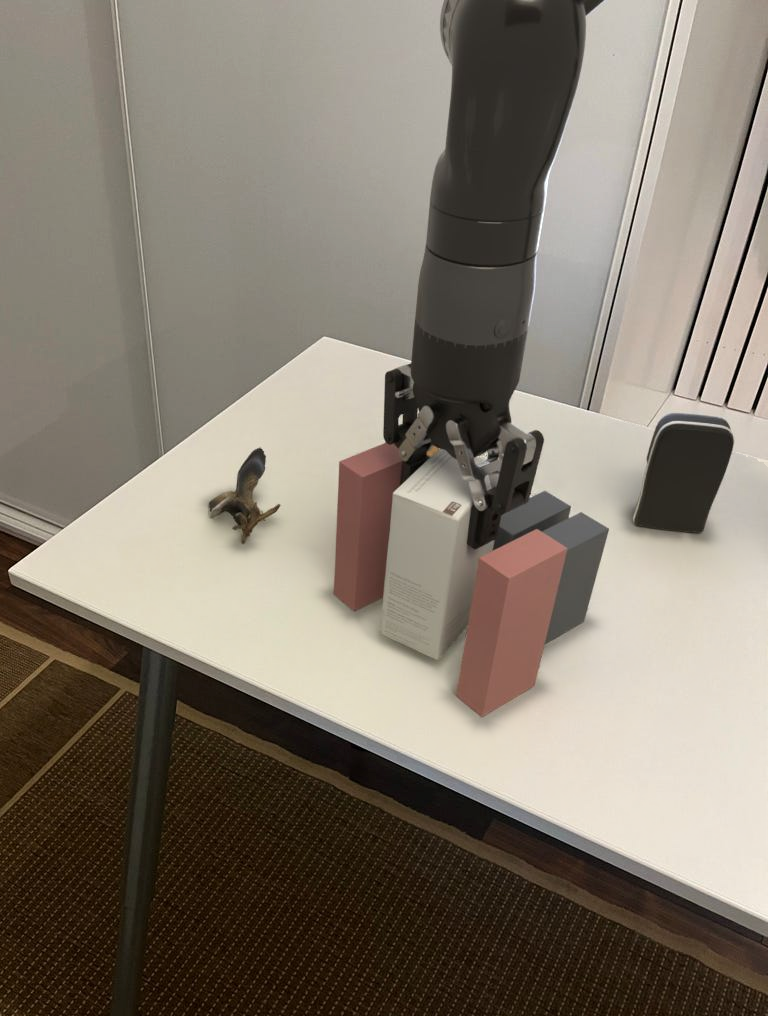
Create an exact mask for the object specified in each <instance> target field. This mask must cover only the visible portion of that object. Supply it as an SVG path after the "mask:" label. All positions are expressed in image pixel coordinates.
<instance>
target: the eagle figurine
mask: <svg viewBox="0 0 768 1016" xmlns="http://www.w3.org/2000/svg"><path fill="white" fill-rule="evenodd" d="M266 458H267V455H266V454H265V451H264V449H263V448H262V447H261V446H259V447H257V448H255V449H254V450H252V451H251V452H250V454H249V455H248V456H247V457H246V459H245V460H244V461H243V463H242V465H241V466H240V468H239V469H238V472H237V475H236V487H235V490H229V491H224V492H222V493H220V494H219V495H217V496H215V497H214V498H212V499H211V500H210V501H208V507H209V518H210V519H215V518H217V517H219V516H220V515H222V514H224V513H228V514H229V515H230V517H232V518H233V521H234V523H236V524H235V525H234V526H231V529H232V530H233V531H237V530H241V540H240V543H241V544H242V545H244V544H245V543H246V540H247V539H248V537H250V536H251V533H252V532H253V530H254V528H256V526H258V524H259V523H260V522H262V521H267V519H266V518H268V517H270V516H272V515H274V514H276V513H277V512H278V510H279V509H280V507H281V504H280V503H277V504H276V505H275V506H274V507H271V508H269V509H268V510H266V511H265V512H264V511H263V510H262V508H261V509H260V507H258V502H257V501H254V499H253V498H254V497H253V496H254V495H253V493H254V490H255V488H256V487H257V486H258V484H259V481H260V479H261V478H262V477H263V476H264V473H265V472H266V462H267V461H266V460H267V459H266Z"/></svg>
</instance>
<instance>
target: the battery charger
mask: <svg viewBox="0 0 768 1016" xmlns="http://www.w3.org/2000/svg"><path fill="white" fill-rule="evenodd" d="M734 445H735V436H734V432H733V430H732V428H731V426H730V423H728V420H726V419H724V418H723V417H719V416H714V415H705V414H698V413H697V414H696V413H685V412H671V413H667V414H665V415H664V416H662V417H661V418H660V420H658V422H657V424H656V426H655V429H654V431H653V434H652V438H651V441H650V444H649V448H648V451H647V455H646V466H645V471H644V475H643V478H642V479H643V480H642V483H641V490H640V492H639V496H638V499H637V501H636V506H635V509H634V512H633V517H632V520H633V521H632V522H633V523H634V524H635V525H636V526H638V527H644V528H645V527H646V528H651V529H658V530H666V531H674V532H685V533H697V534H698V533H703V532H704V530H705V526H706V523H707V520H708V518H709V514H710V511H711V509H712V507H713V503H714V502H715V499H716V497H717V494H718V492H719V490H720V487H721V485H722V482H723V480H724V477H725V474H726V472H727V469H728V466H729V463H730V460H731V457H732V453H733V450H734Z"/></svg>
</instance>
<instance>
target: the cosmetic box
mask: <svg viewBox="0 0 768 1016" xmlns="http://www.w3.org/2000/svg"><path fill="white" fill-rule="evenodd" d="M474 460H475V464H476V465H478V464H480V463H482V462H484V461H486V460H487V459H483V458H480V457H479V456H478V457H475V458H474ZM485 483H486V487H487V490H489V489H491V488H492V487H491V483H490V480H489V476H488V475H486V476H485ZM473 505H474V501H473V497H472V494H471V490H470V486H469V483H468V481H465V480H463V479H462V477H461V473H460V469H459V465H458V462H457V460H456V459H455V458H453V457H452V456H451V455H450V454H449V453H448V452H447V451H446V450H443V449H440V448H439V450H438V451H437V452H435V453H434V454H433V455H432V456H431V457H430V458H429V459H428V460H427V461H426V462H425V463H424V464H423V465H422V466H421V467H420V468H419V469H418V470H417V471H415V472H414V473H413V474H412V475H411V476H410V477H409V478H408V479H407V480H406V481H405V482H404V483H403V484H402V485H401V486H400V487H399V488H398V489H396V490H395V491H394V492H393V498H392V510H391V522H390V533H389V542H388V551H387V561H386V573H385V583H384V593H383V598H382V603H381V604H382V606H381V616H380V626H379V633H380V634H382V635H383V636H385V637H387V638H389V639H391V640H393V641H395V642H398V643H399V644H400V643H401V645H404V646H406V647H408V648H410V649H413V650H415V651H417V652H419V653H420V654H423V655H425V656H428V657H429V658H432V659H434V660H440V659H441V658H442V656H444V655H445V653H446V652H447V651H448V650H449V648H450V647H451V646H452V645H453V644H454V642H455V641H457V639H458V638H459V636H461V634H462V633H463V632H464V630H465V629H467V627H468V621H469V615H470V609H471V602H472V596H473V590H474V584H475V578H476V572H477V566H478V560H479V557H481V556H483V555H485V554H487V553H489V552H491V551H493V546H494V540H493V541H491V542H489V543H488V544H486V545H484V546H482V547H480V548H478V549H473V548H471V547H470V546H469V545H467V537H468V529H469V521H470V514H471V508H472V506H473Z"/></svg>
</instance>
